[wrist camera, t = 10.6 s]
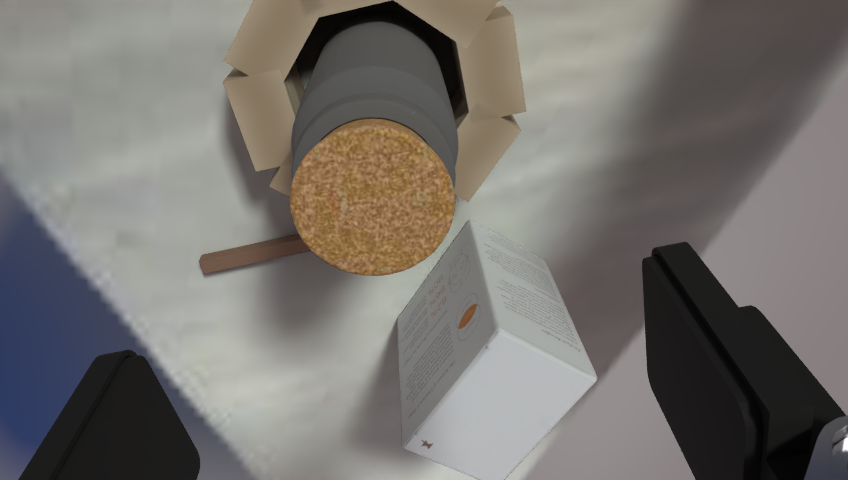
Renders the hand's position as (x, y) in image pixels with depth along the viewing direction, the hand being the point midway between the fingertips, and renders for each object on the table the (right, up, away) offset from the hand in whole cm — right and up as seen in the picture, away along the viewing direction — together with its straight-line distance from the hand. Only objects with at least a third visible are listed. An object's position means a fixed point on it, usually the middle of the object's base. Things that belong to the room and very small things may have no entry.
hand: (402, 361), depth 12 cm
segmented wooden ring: (-2, +10, +19) cm, 22 cm away
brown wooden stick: (-7, +2, +24) cm, 25 cm away
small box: (+3, -1, +26) cm, 26 cm away
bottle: (-2, +11, +20) cm, 22 cm away
